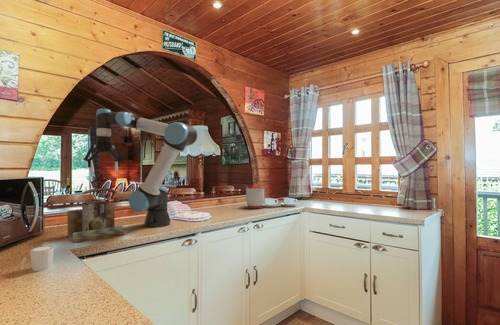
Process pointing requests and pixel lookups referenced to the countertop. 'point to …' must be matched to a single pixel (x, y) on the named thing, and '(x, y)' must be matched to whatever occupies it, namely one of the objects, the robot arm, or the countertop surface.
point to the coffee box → (93, 215)
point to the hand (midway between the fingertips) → (104, 173)
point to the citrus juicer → (255, 196)
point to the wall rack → (82, 236)
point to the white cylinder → (41, 258)
